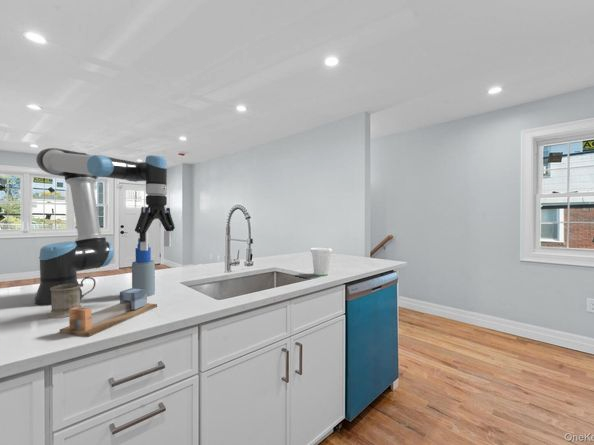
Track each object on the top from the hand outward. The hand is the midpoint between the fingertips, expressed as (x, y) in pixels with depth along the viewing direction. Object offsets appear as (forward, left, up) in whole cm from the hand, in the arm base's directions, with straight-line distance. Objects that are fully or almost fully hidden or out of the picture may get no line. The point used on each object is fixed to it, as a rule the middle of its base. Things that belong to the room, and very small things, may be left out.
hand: (156, 248), depth 117 cm
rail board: (-1, -19, -22) cm, 29 cm away
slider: (-1, -11, -20) cm, 23 cm away
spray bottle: (-13, +8, -22) cm, 27 cm away
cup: (+56, +70, -22) cm, 92 cm away
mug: (-21, -17, -22) cm, 35 cm away
